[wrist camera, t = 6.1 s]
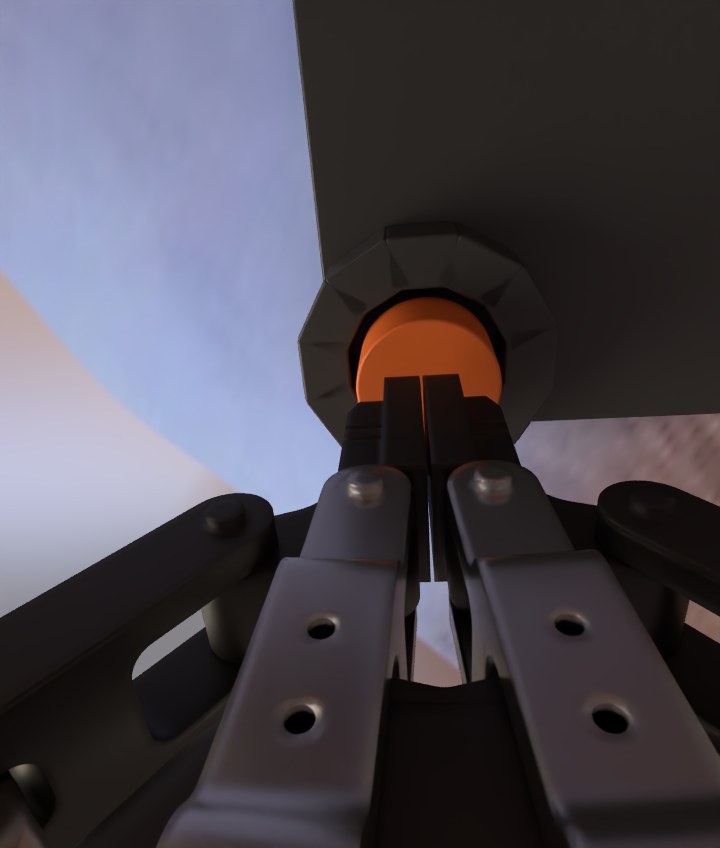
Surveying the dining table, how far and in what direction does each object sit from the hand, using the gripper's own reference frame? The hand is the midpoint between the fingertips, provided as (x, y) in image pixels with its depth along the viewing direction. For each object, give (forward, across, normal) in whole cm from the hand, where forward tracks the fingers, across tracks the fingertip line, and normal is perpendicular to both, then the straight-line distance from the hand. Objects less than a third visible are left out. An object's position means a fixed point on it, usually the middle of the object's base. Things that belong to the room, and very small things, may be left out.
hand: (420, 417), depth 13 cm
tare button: (+3, 0, 0) cm, 3 cm away
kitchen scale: (+5, -5, -4) cm, 8 cm away
